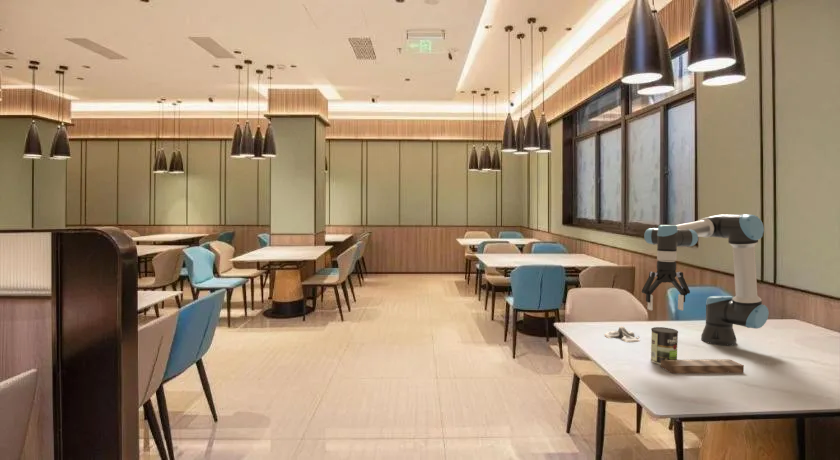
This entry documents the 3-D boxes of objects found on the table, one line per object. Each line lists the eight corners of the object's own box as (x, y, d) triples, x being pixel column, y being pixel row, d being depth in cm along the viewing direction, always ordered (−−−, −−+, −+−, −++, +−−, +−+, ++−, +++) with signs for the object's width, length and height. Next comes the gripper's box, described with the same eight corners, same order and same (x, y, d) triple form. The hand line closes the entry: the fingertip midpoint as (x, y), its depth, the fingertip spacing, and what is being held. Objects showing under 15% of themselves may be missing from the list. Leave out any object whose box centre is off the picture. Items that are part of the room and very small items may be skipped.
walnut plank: (729, 366, 203) (729, 359, 203) (743, 372, 195) (743, 365, 195) (660, 366, 201) (660, 359, 201) (671, 373, 193) (671, 365, 193)
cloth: (637, 345, 236) (637, 332, 236) (598, 338, 248) (599, 326, 248) (648, 336, 254) (648, 324, 254) (611, 330, 265) (612, 319, 265)
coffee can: (682, 363, 206) (683, 331, 205) (666, 367, 201) (667, 333, 201) (660, 357, 215) (661, 326, 214) (645, 360, 210) (646, 328, 210)
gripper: (689, 259, 211) (687, 308, 212) (633, 259, 210) (632, 308, 210) (700, 261, 203) (698, 311, 204) (642, 261, 202) (641, 311, 203)
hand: (665, 309), depth 207 cm, fingers open, 13 cm apart
